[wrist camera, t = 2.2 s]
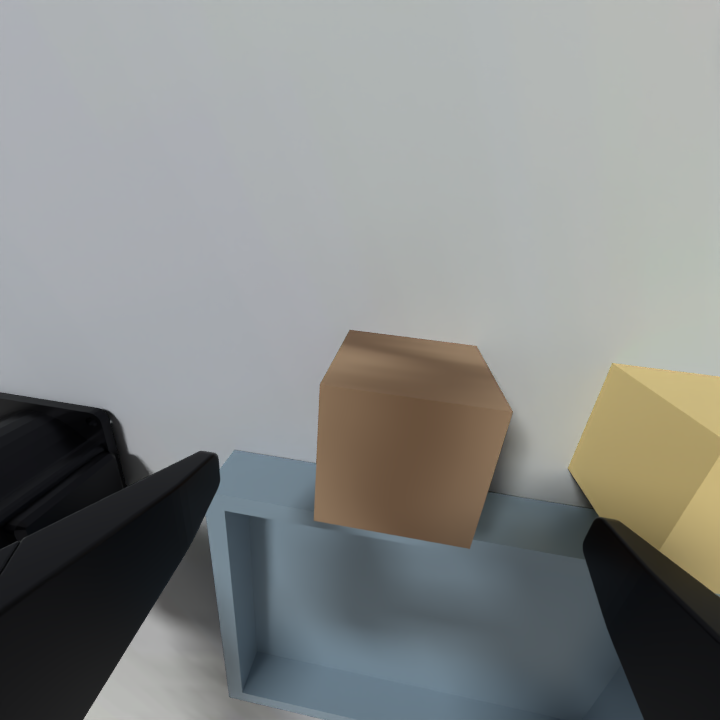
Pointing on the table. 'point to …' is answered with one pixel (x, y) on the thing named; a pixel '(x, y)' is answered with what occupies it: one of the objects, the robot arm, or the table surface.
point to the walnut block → (408, 437)
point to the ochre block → (658, 462)
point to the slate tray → (407, 610)
